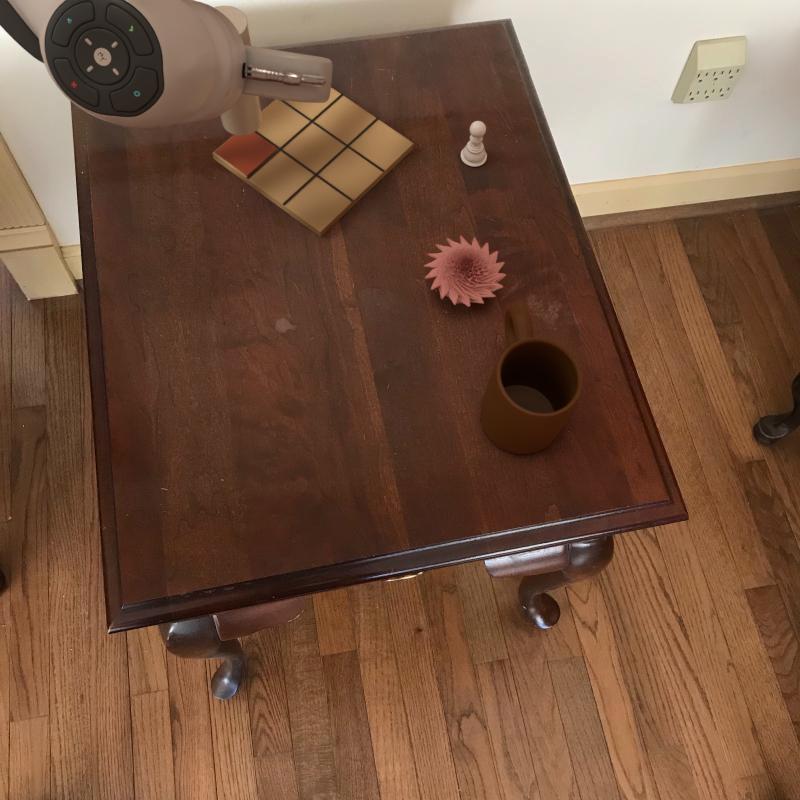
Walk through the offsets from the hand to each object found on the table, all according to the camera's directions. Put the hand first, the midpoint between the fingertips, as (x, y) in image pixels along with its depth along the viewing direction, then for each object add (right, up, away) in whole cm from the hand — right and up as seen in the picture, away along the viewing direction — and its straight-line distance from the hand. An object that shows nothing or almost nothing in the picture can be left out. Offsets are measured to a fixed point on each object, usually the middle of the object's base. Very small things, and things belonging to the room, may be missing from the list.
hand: (234, 64), depth 77 cm
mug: (+26, -31, +1) cm, 41 cm away
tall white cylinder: (0, -3, +6) cm, 7 cm away
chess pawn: (+23, -5, +13) cm, 27 cm away
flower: (+21, -20, +6) cm, 30 cm away
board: (+6, -5, +11) cm, 14 cm away
